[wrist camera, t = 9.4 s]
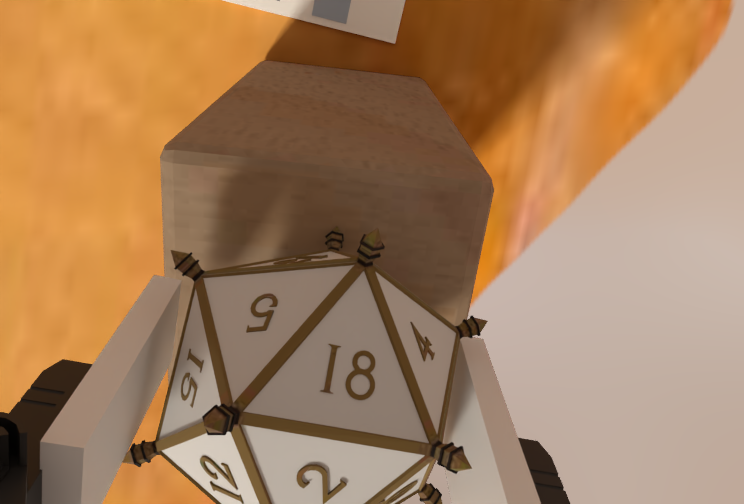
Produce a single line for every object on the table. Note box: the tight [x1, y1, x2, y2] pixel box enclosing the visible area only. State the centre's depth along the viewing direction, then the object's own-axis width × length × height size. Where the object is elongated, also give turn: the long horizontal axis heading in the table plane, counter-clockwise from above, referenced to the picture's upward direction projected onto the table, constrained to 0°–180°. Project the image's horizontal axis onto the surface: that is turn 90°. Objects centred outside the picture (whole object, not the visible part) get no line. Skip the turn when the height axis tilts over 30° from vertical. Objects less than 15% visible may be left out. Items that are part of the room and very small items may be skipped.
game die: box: [122, 226, 487, 504], centre depth 15 cm, size 9×8×10 cm
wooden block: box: [160, 60, 494, 383], centre depth 28 cm, size 10×10×20 cm
